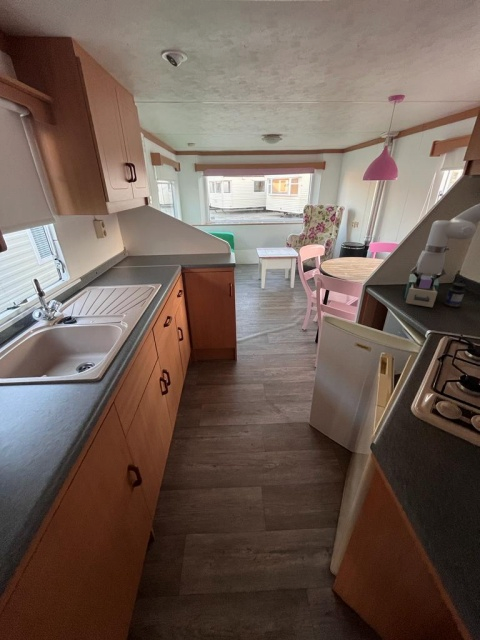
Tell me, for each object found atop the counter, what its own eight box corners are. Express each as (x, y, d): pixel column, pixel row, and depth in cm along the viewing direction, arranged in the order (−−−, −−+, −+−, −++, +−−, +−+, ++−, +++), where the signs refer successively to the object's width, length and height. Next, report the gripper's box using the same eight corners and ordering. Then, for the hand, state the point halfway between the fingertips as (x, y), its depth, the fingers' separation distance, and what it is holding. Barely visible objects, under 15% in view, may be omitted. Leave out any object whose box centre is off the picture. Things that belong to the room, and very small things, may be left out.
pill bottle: (443, 302, 135) (450, 281, 130) (458, 304, 133) (466, 283, 127) (444, 306, 131) (452, 285, 126) (459, 308, 128) (468, 287, 123)
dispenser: (432, 303, 135) (438, 285, 130) (404, 298, 140) (409, 281, 136) (432, 293, 146) (437, 276, 141) (405, 289, 152) (410, 273, 147)
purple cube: (427, 285, 131) (430, 277, 129) (429, 288, 128) (432, 280, 126) (417, 285, 133) (419, 276, 131) (418, 287, 129) (421, 279, 127)
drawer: (432, 311, 124) (438, 295, 121) (405, 306, 130) (409, 291, 126) (431, 297, 138) (436, 283, 135) (406, 294, 144) (410, 280, 140)
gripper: (454, 248, 122) (441, 285, 131) (412, 246, 128) (402, 282, 136) (459, 252, 116) (445, 291, 124) (415, 249, 122) (404, 287, 130)
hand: (423, 286), depth 130 cm, fingers closed on purple cube, 4 cm apart
